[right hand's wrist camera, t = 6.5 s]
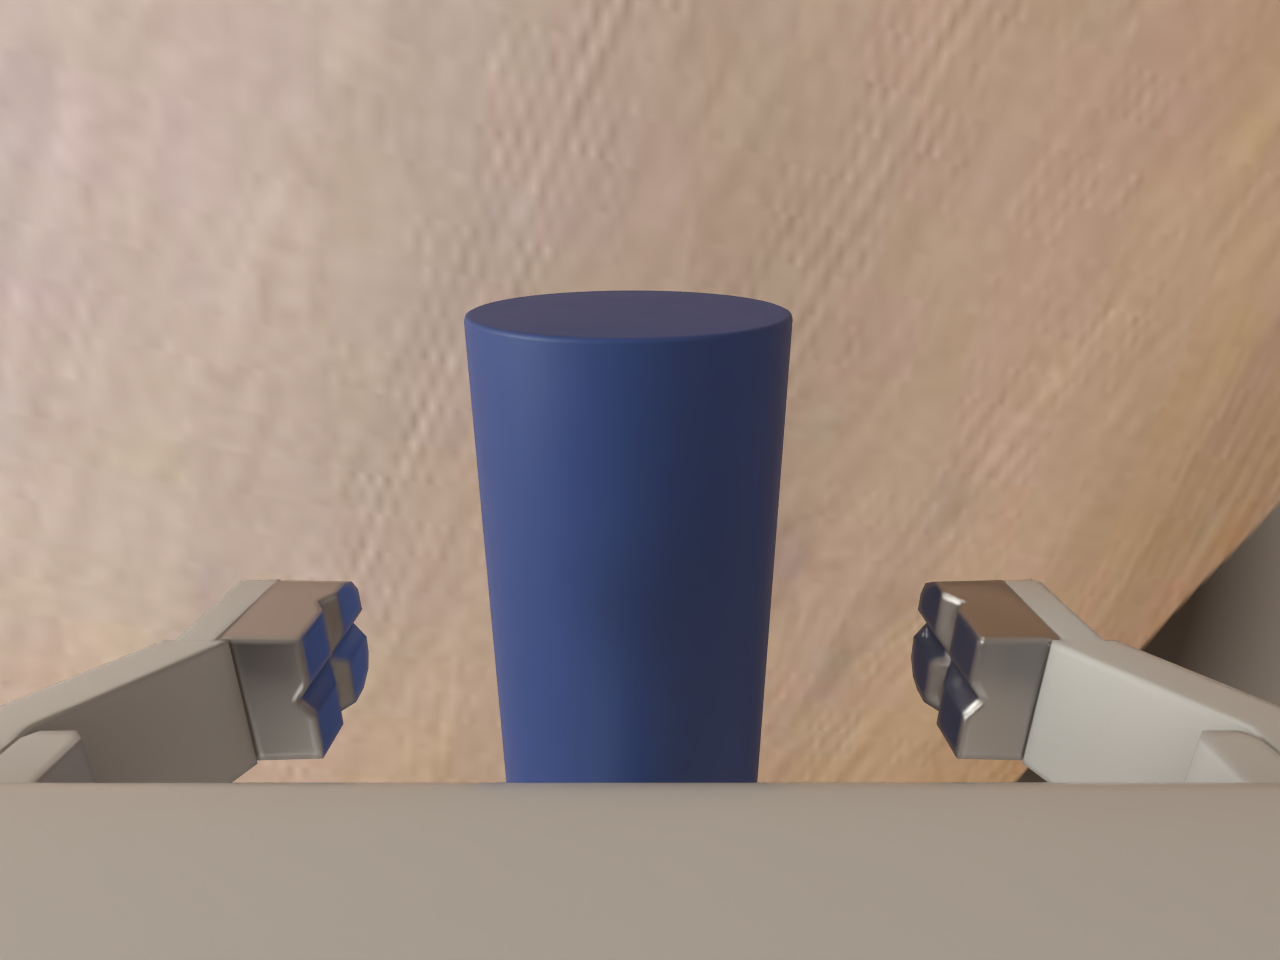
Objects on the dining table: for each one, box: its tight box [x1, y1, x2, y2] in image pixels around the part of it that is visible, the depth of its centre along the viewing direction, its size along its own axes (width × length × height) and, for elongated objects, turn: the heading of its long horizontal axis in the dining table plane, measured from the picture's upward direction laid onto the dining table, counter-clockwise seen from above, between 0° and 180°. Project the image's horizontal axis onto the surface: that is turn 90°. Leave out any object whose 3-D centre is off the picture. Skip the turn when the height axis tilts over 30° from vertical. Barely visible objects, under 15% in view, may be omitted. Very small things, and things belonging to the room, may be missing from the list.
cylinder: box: [464, 291, 792, 783], centre depth 18 cm, size 25×6×6 cm, turn 0°
